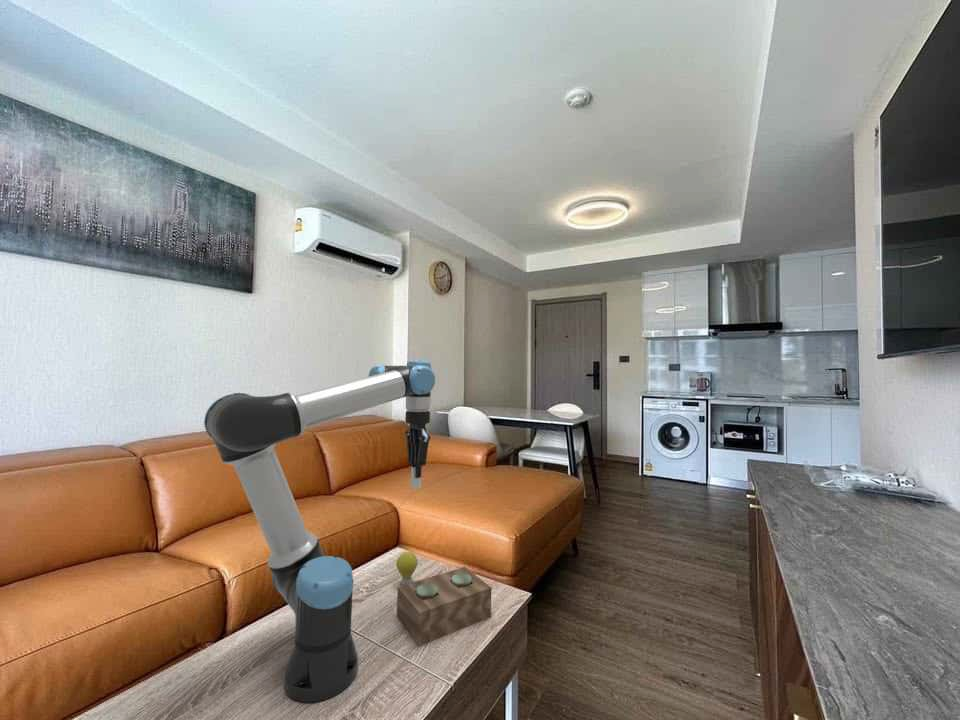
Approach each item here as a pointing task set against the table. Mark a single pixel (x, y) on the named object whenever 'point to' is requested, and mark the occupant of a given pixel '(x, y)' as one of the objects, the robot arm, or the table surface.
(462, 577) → the far plunger
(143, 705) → the table surface
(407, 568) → the yellow light bulb
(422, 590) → the near plunger
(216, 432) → the robot arm
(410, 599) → the socket block
